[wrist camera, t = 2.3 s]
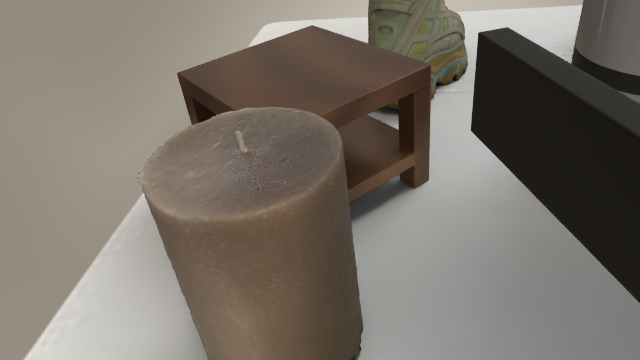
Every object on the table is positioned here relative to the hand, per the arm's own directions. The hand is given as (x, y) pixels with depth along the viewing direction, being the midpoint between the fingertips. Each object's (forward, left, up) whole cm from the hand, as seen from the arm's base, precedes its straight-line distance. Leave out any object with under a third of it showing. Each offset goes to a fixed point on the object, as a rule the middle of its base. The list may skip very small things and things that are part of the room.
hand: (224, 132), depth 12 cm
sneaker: (-37, -29, -20) cm, 51 cm away
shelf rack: (-16, -21, -20) cm, 33 cm away
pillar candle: (-4, -9, -20) cm, 22 cm away
